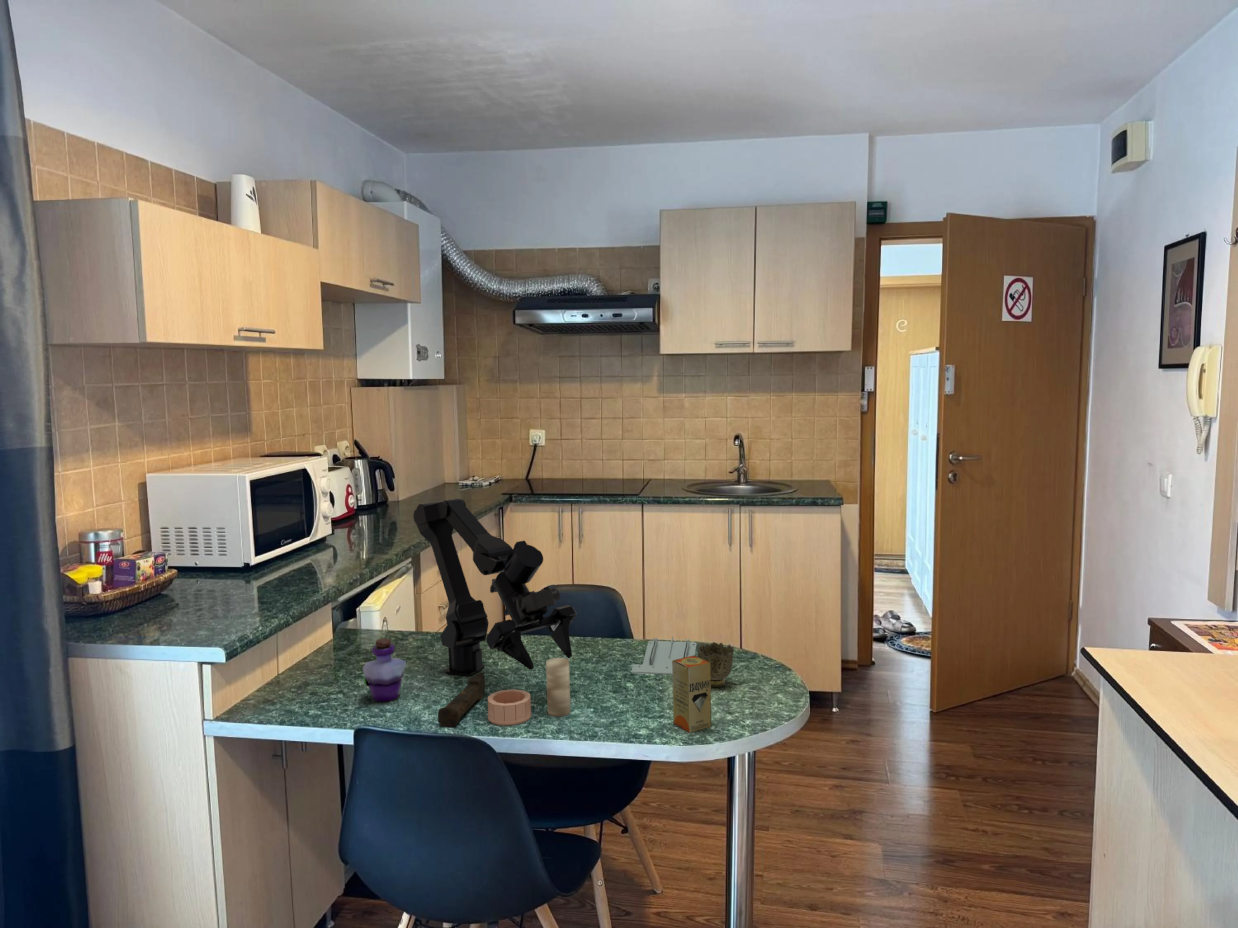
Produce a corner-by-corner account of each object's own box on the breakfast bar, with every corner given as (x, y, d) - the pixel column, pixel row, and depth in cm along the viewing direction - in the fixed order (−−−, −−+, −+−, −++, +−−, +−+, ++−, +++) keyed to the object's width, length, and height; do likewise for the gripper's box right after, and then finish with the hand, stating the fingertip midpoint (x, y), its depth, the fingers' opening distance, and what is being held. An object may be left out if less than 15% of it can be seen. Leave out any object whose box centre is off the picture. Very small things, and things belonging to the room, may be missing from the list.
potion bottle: (361, 693, 175) (358, 637, 174) (404, 687, 178) (401, 631, 177) (366, 708, 167) (363, 649, 166) (411, 700, 170) (408, 642, 169)
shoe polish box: (673, 723, 156) (672, 660, 155) (694, 717, 159) (694, 655, 158) (689, 732, 152) (688, 667, 151) (711, 726, 155) (710, 662, 153)
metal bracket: (640, 631, 195) (705, 633, 192) (641, 652, 197) (706, 655, 194) (629, 668, 182) (699, 672, 179) (631, 691, 184) (700, 694, 181)
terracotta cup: (479, 722, 159) (479, 702, 158) (501, 705, 166) (500, 687, 166) (518, 727, 156) (518, 707, 155) (538, 711, 163) (538, 691, 163)
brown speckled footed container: (690, 685, 175) (690, 648, 174) (712, 676, 180) (711, 639, 180) (720, 694, 170) (719, 655, 169) (741, 684, 175) (740, 646, 175)
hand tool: (457, 729, 156) (456, 704, 156) (437, 727, 157) (436, 703, 157) (496, 692, 175) (496, 670, 174) (478, 690, 176) (478, 669, 175)
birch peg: (543, 714, 162) (542, 663, 161) (553, 706, 166) (552, 656, 165) (564, 717, 160) (563, 666, 159) (574, 708, 164) (572, 658, 163)
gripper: (491, 581, 159) (528, 651, 152) (569, 565, 172) (606, 629, 165) (471, 615, 166) (505, 683, 159) (547, 597, 178) (582, 659, 171)
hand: (551, 662), depth 163 cm, fingers open, 9 cm apart
